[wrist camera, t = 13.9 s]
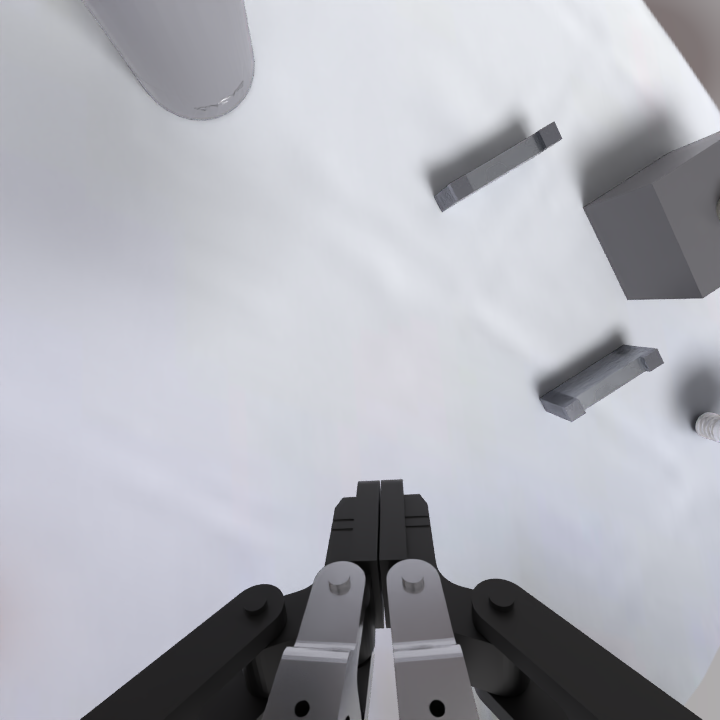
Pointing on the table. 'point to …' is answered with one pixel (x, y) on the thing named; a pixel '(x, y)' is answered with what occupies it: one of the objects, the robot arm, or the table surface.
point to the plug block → (665, 225)
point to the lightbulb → (709, 426)
